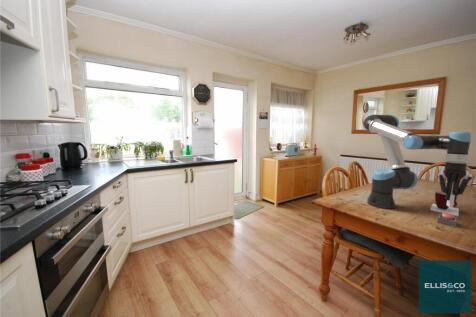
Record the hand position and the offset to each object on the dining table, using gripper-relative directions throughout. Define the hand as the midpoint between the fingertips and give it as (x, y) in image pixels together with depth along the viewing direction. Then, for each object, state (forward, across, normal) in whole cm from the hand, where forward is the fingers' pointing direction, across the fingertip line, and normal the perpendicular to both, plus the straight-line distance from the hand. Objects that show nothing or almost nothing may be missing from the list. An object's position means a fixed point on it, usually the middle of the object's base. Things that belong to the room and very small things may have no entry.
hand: (449, 206), depth 107 cm
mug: (+9, +9, +24) cm, 27 cm away
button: (+7, 0, 0) cm, 7 cm away
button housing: (+9, 0, 0) cm, 9 cm away
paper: (+9, +9, +24) cm, 27 cm away
